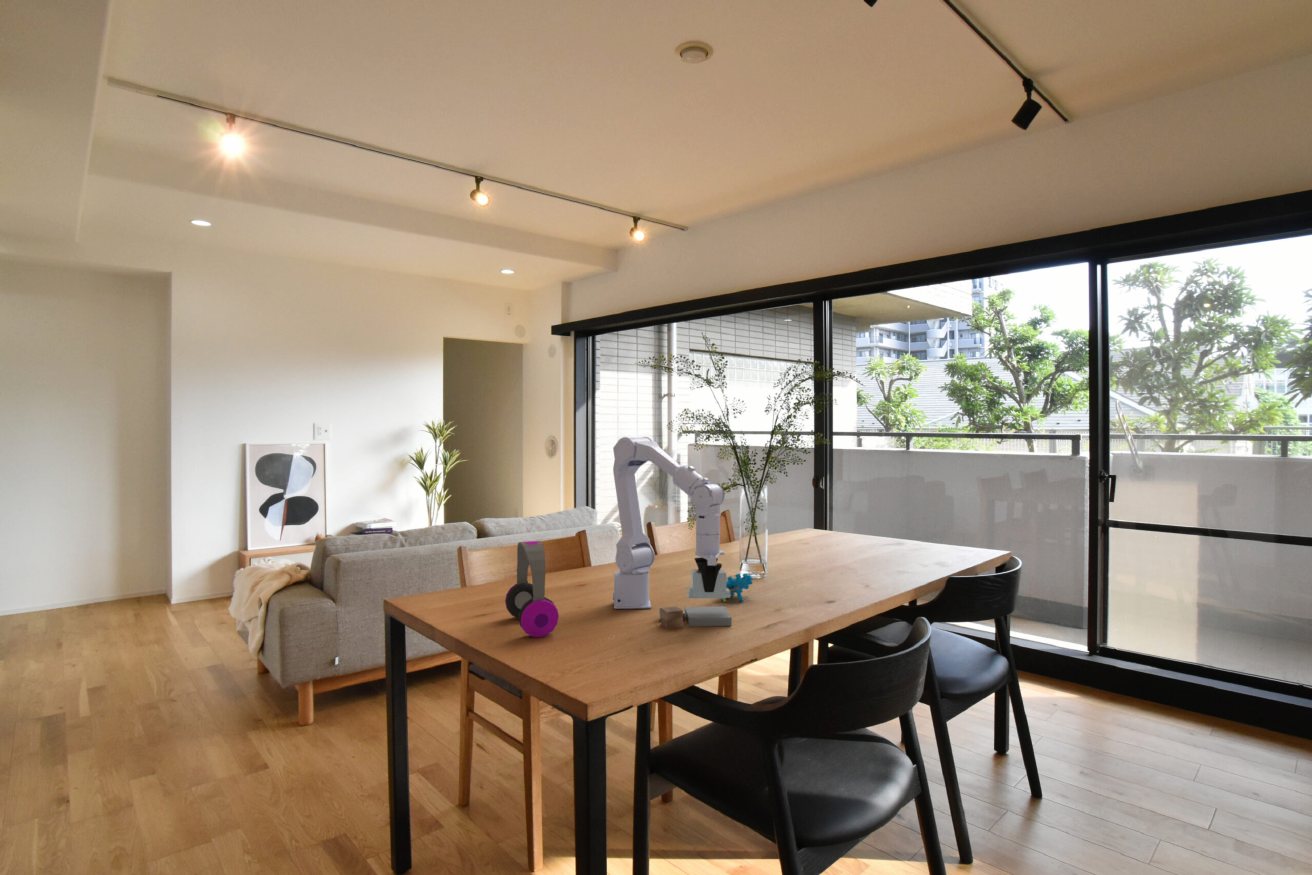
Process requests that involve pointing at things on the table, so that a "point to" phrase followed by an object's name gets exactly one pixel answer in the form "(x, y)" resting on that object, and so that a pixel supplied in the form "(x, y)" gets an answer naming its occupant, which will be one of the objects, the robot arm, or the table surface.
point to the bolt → (660, 614)
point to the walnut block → (671, 617)
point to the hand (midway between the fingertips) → (707, 589)
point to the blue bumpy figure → (738, 585)
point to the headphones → (531, 592)
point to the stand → (708, 616)
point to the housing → (698, 587)
